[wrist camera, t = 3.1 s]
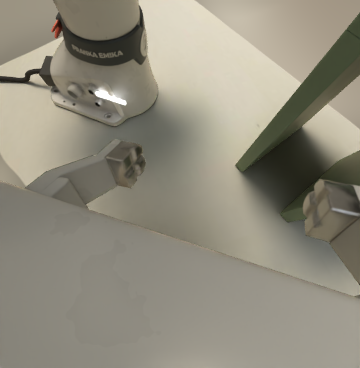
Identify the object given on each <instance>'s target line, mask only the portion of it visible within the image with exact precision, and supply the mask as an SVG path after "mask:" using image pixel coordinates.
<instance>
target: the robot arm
mask: <svg viewBox="0 0 360 368" xmlns="http://www.w3.org/2000/svg"><path fill="white" fill-rule="evenodd" d="M53 1H54V3H55V5H56V7H57V9H58V11H59V13H58V15H57V17H56V19H57V21H56V23H55V24H54V26H53V28H52V30H51V31H52V32H54V31H55V30H56V31H55V38H56V39H57V38H58V36H59V34H60V32H61V31H63V36H64V40H63V41H62V42H61V44H60V45H59V47H58V48H57V50H56V51H55V53H54V55H53V56H46V58H45V60H44V63H43V65H42V68H41V69H32V70H29V71H27V72H26V73H25V77H24V78H15V77H5V76H0V81H15V82H27V81H29V80H30V76H31V75H33V74H38V73H39V75H40V76H41V78H42V79H43V80H44V81H45V83H46V84H47V85H48V86H52V87H51V98H52V101H53V102H54V104H56V105H58V106H61V107H63V108H66V109H69V110H71V111H74V112H76V113H79V114H82V115H84V116H87V117H90V118H92V119H95V120H98V121H100V122H103V123H106V124H108V125H111V126H117V125H119V124H121V123H122V122H124V121H125V120H126V119H128V118H130V117H133V116H136V115H139V114H141V113H143V112H145V111H146V110H147V109H149V108H150V107H151V106H152V105H153V103H154V102H155V100H156V98H157V95H158V85H157V82H156V80H155V78H154V76H153V73H152V70H151V67H150V64H149V60H148V56H147V50H148V46H147V35H146V29H145V25H144V19H143V13H142V10H141V8H140V6H139V3H138V0H53ZM109 117H111V118H109ZM108 118H109V119H108ZM142 153H143V148H142V146H141V145H140V144H136V143H131V142H126V141H121V140H112V141H111V142H110V143H109V144H108V145H107V146H106V147H104V148H103V149H102V150H101V151H100V152H99V153H98V154H97V155H95V156H93V155H92V156H89V157H86V158H84V159H81V160H78V161H75V162H72V163H69V164H66V165H63V166H61V167H58V168H55V169H52V170H49V171H46V172H45V173H43V174H42V175H41V176H40V177H38V178H37V179H36V180H34V181H33V182H32V183H30V184H29V185H28V186H27V187H25V188H22V187H18V186H16V185H12V184H9V183H6V182H3V181H0V368H360V295H357V296H351V295H348V294H344V293H341V292H338V291H335V290H332V289H329V288H326V287H323V286H320V285H317V284H314V283H311V282H308V281H305V280H302V279H299V278H296V277H293V276H290V275H287V274H284V273H281V272H277V271H274V270H271V269H268V268H265V267H262V266H259V265H256V264H253V263H250V262H247V261H244V260H241V259H238V258H235V257H232V256H229V255H226V254H223V253H220V252H217V251H213V250H210V249H207V248H204V247H201V246H198V245H195V244H192V243H189V242H186V241H183V240H180V239H177V238H174V237H171V236H168V235H165V234H162V233H158V232H155V231H152V230H149V229H146V228H143V227H140V226H137V225H134V224H131V223H128V222H125V221H122V220H119V219H116V218H113V217H110V216H107V215H104V214H101V213H98V212H95V211H91V210H89V209H88V207H87V206H86V204H87V203H89V202H91V201H92V200H94V199H96V198H98V197H99V196H101V195H103V194H104V193H106V192H108V191H109V190H111V189H113V188H115V187H116V186H117V185H119V186H123V187H127V188H132V186H133V185H134V184H135V182H136V181H137V176H139V175H141V174H142V173H143V171H144V169H145V165H146V162H145V158H144V157H143V155H142ZM314 190H315V191H312V192H310V193H308V195H307V196H306V198H305V200H304V203H303V214H304V215H305V216H306V217H307V219H306V220H305V222H304V225H305V232H306V236H309V237H313V238H316V239H320V240H323V241H326V242H330V243H329V244H330V245H331V246H332V248H333V249H334V251H335V252H336V253H337V255H338V256H339V257H340V259H341V260H342V262H343V263H344V264H345V266H346V267H347V268H348V270H349V271H350V273H351V274H352V275H353V277H354V278H355V280H356V281H357V282H358V284H359V285H360V186H357V185H351V184H350V185H349V184H344V183H338V182H333V181H328V180H322V179H320V180H318V181H317V182H316V184H315V185H314Z"/></svg>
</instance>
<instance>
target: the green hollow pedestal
mask: <svg viewBox="0 0 360 368" xmlns="http://www.w3.org/2000/svg"><path fill="white" fill-rule="evenodd" d="M359 75H360V13H359V14H358V15H357V17H356V18H355V19H354V20H353V22H352V23H351V24H350V25H349V27H348V28H347V30H345V31H344V33H343V34H342V35H341V36H340V38H339V39H338V40H337V41H336V43H335V44H334V45H333V46H332V47H331V49H330V50H329V51H328V52H327V53H326V55H325V56H324V57H323V58H322V60H321V61H320V62H319V63H318V64H317V66H316V67H315V68H314V70H313V71H312V72H311V73H310V74H309V76H308V77H307V78H306V79H305V80H304V82H303V83H302V84H301V85H300V87H299V88H298V89H297V90H296V91H295V93H294V94H293V95H292V96H291V98H290V99H289V100H288V101H287V102H286V104H285V105H284V106H283V107H282V109H281V110H280V111H279V112H278V113H277V115H276V116H275V117H274V118H273V120H272V121H271V122H270V123H269V124H268V126H267V127H266V128H265V129H264V131H263V132H262V133H261V134H260V135H259V137H258V138H257V139H256V140H255V142H254V143H253V144H252V145H251V146H250V148H249V149H248V150H247V151H246V153H245V154H244V155H243V156H242V157H241V159H240V160H239V161H238V162H237V164H236V166H237V168H238V169H239V170H240V171H241V172H244V171H245V170H246V169H247V168H249V167H250V166H251V165H253V164H254V163H255V162H257V161H258V160H259V159H260V158H262V157H263V156H264V155H266V154H267V153H268V152H269V151H271V150H272V149H273V148H275V147H276V146H277V145H279V144H280V143H281V142H282V141H284V140H285V139H286V138H288V137H289V136H290V135H291V134H293V133H294V132H295V131H297V130H298V129H299V128H301V127H302V126H303V125H304V124H305V123H306V122H307V121H308V120H310V119H311V118H312V117H313V116H314V115H315V114H316V113H317V112H319V111H320V110H321V109H322V108H323V107H324V106H325V105H326V104H328V103H329V102H330V101H331V100H332V99H333V98H334V97H335V96H336V95H338V94H339V93H340V92H341V91H342V90H343V89H344V88H345V87H346V86H347V85H349V84H350V83H351V82H352V81H353V80H354V79H355V78H356V77H358V76H359ZM320 179H322V180H328V181H333V182H338V183H344V184H349V185H350V184H351V185H357V186H360V150H359V151H357V152H355V153H353V154H351V155H349V156H347V157H345V158H343V159H341V160H339V161H338V162H336V163H335V164H334V165H333V166H332V167H331V168H330V169H329V170H328V171H326V172H325V173H324V174H323V175H322V176H321V177H320V178H319V179H318V180H320ZM318 180H316V181H315V182H314V183H313V184H312V185H311V186H310V187H309V188H308V189H306V190H305V191H304V192H303V193H302V194H301V195H300V196H299V197H298V198H296V199H295V200H294V201H293V202H292V203H291V204H290V205H289V206H287V207H286V208H285V209H284V210H283V211H282V212H281V213H280V215H281V216H282V217H283V218H284V219H285V220H286V221H287V222H292V221H298V220H303V219H307V217H306V216H305V215H304V214H303V203H304V200H305V198H306V196H307V195H308V193H310V192H312V191H315V190H314V185H315V184H316V182H317V181H318Z"/></svg>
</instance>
